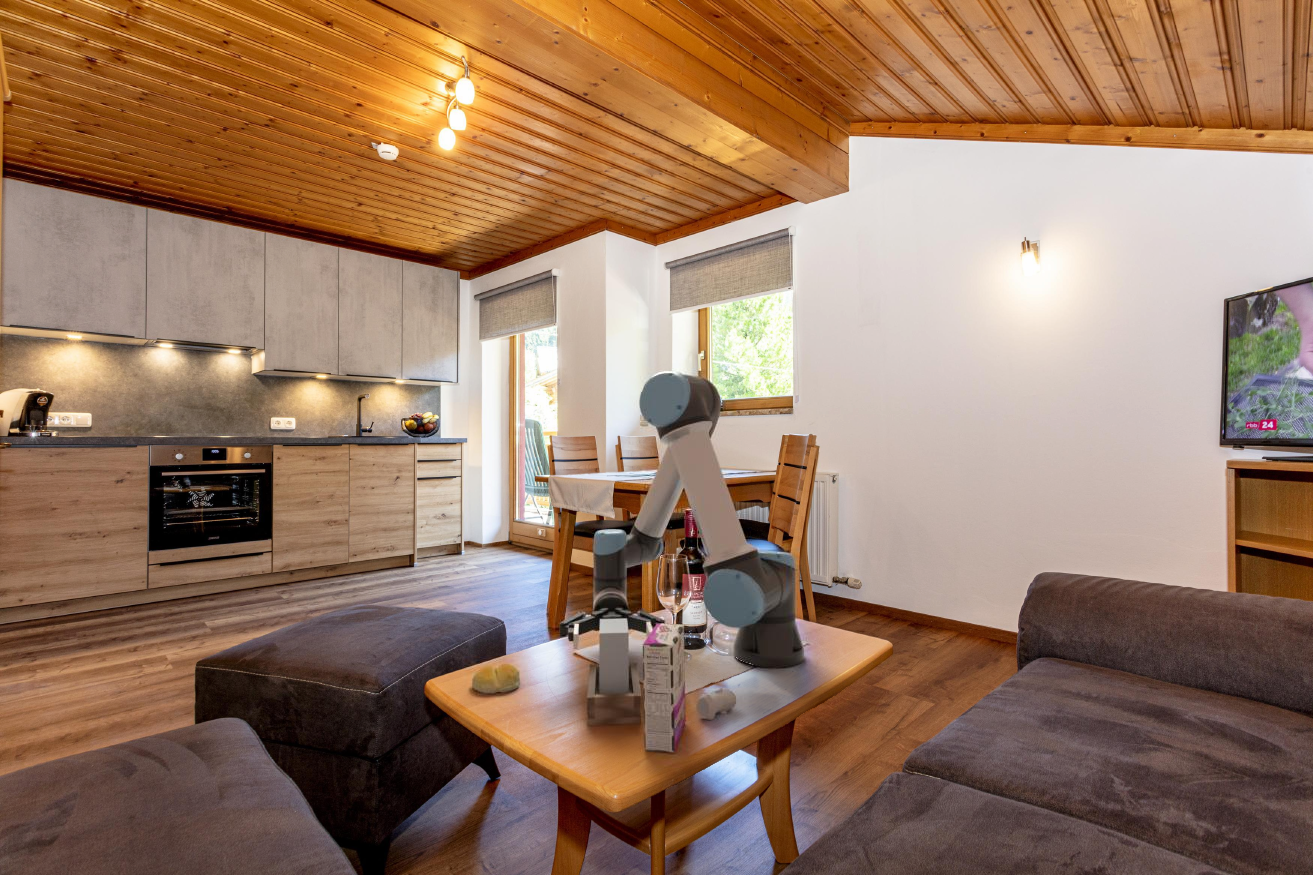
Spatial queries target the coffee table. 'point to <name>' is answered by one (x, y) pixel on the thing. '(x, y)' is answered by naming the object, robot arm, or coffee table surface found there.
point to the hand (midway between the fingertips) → (613, 640)
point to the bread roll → (496, 679)
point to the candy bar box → (664, 687)
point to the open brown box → (613, 701)
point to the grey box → (613, 656)
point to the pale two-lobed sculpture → (716, 703)
